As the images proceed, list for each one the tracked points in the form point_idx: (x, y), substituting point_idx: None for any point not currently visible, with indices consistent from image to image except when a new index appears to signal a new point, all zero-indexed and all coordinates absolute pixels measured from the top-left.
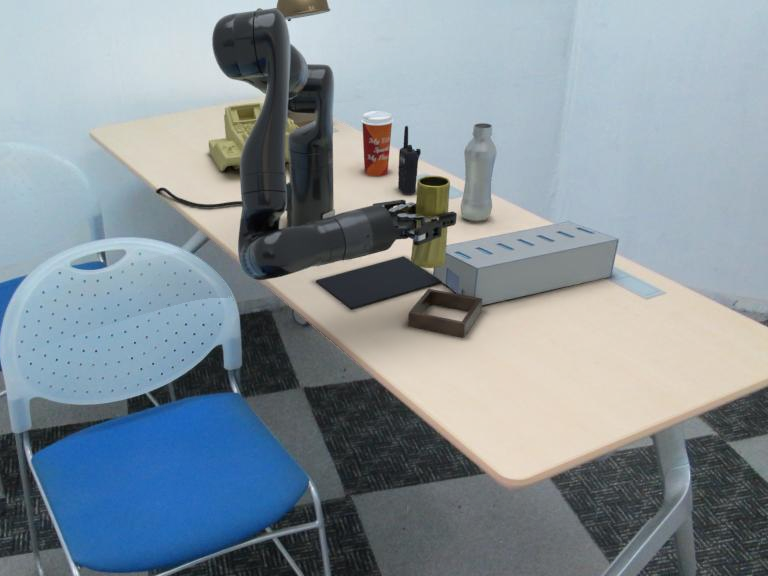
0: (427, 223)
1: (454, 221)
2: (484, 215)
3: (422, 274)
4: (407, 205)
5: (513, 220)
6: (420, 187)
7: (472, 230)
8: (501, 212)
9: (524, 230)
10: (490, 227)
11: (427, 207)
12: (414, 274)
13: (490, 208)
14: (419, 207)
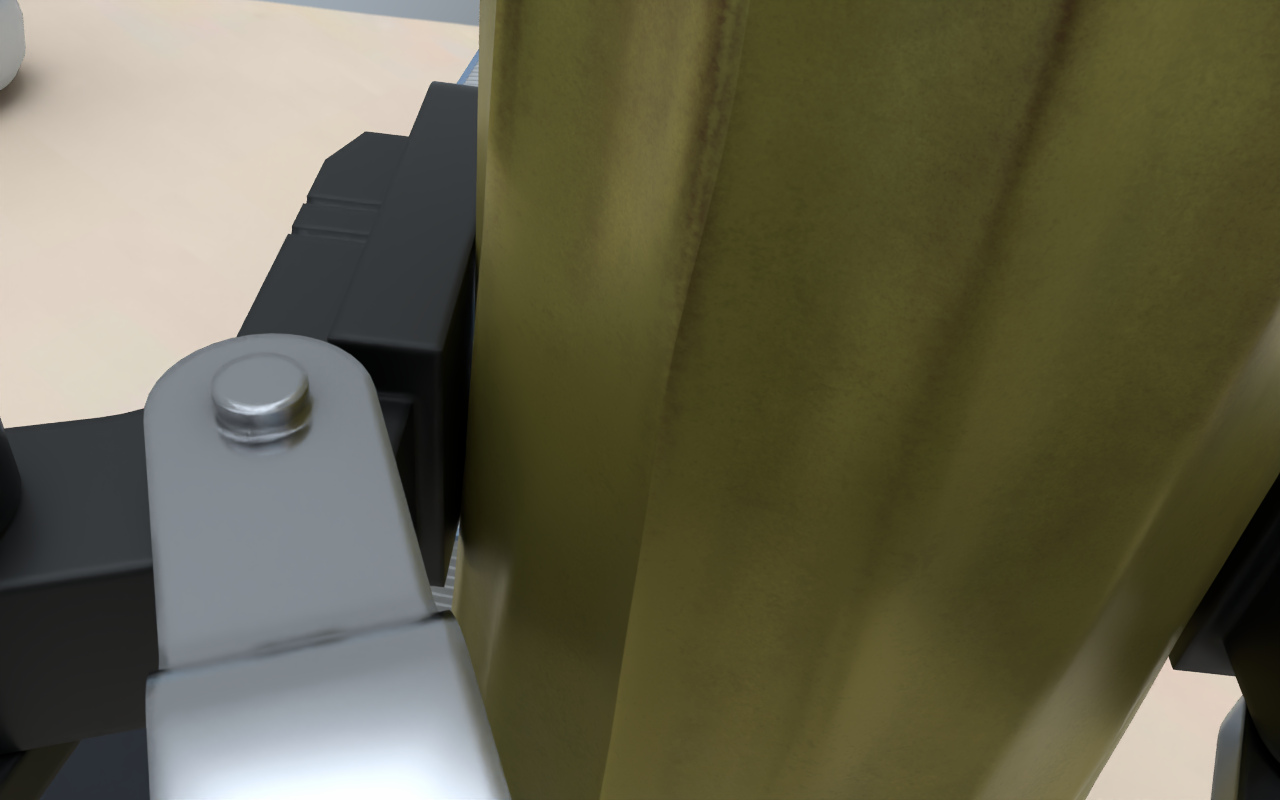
0: (1118, 718)
1: None
2: (12, 55)
3: (138, 740)
4: (458, 630)
5: (142, 34)
6: None
7: (15, 165)
8: (31, 13)
9: (474, 68)
10: (86, 110)
11: (1265, 393)
12: (72, 790)
13: (17, 5)
14: (952, 495)
